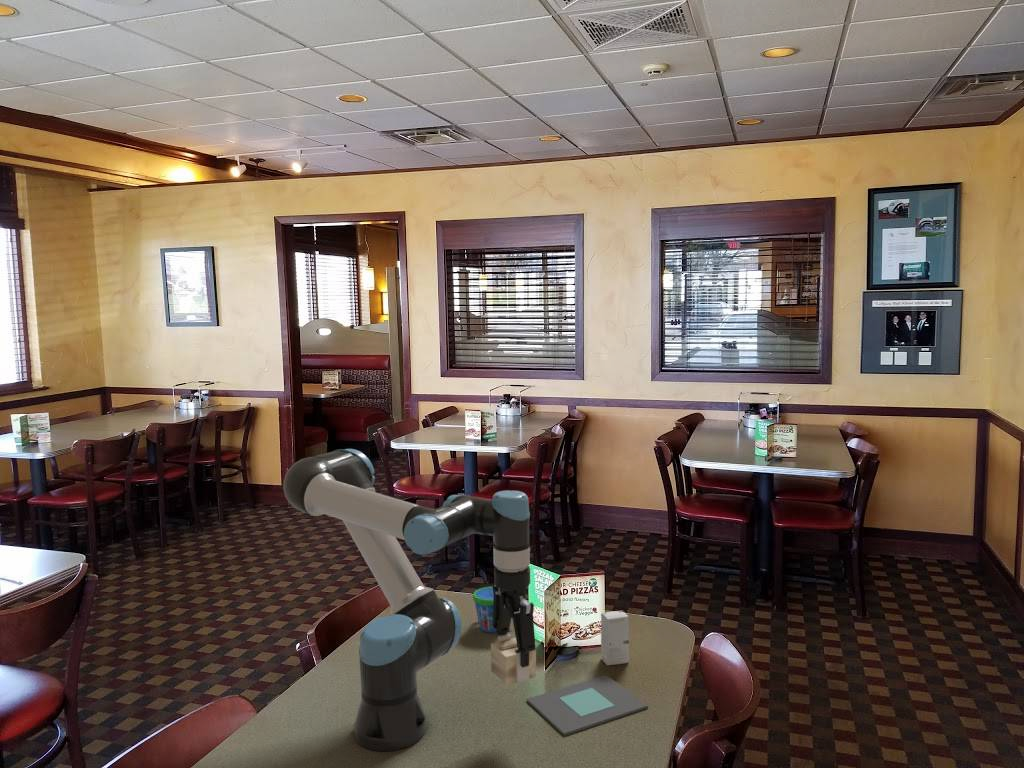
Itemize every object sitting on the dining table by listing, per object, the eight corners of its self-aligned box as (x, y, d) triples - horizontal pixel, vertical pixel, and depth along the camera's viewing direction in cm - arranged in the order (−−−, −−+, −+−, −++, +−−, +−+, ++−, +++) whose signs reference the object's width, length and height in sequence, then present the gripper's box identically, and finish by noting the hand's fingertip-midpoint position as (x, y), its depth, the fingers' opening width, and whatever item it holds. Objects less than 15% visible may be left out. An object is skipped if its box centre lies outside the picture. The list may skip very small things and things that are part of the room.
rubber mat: (564, 736, 156) (564, 732, 156) (526, 701, 170) (526, 698, 170) (647, 707, 167) (647, 705, 167) (606, 677, 181) (606, 674, 181)
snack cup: (469, 618, 216) (468, 584, 215) (505, 614, 219) (504, 581, 217) (479, 642, 201) (478, 605, 200) (517, 637, 203) (516, 601, 202)
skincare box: (607, 666, 186) (607, 619, 185) (600, 658, 191) (600, 612, 189) (629, 662, 188) (629, 616, 187) (622, 654, 192) (622, 609, 191)
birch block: (506, 685, 153) (505, 656, 152) (491, 670, 159) (490, 642, 158) (536, 676, 156) (535, 648, 155) (520, 663, 162) (519, 635, 162)
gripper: (552, 577, 148) (553, 688, 151) (505, 549, 166) (507, 649, 168) (519, 584, 145) (521, 697, 147) (474, 555, 162) (477, 657, 164)
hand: (513, 671), depth 157 cm, fingers closed on birch block, 7 cm apart
